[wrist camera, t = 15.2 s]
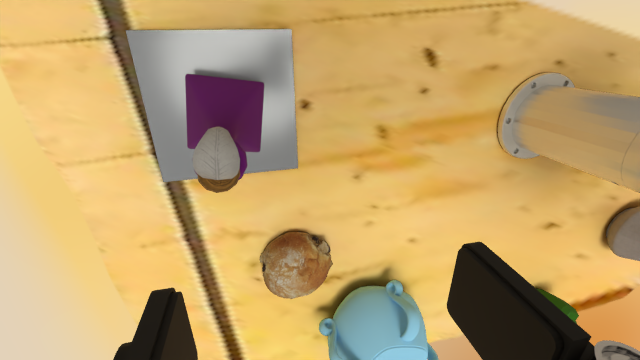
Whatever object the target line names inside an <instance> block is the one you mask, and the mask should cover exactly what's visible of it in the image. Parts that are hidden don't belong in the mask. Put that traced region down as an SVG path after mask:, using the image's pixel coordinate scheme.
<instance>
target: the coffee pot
mask: <svg viewBox="0 0 640 360" xmlns="http://www.w3.org/2000/svg"><path fill="white" fill-rule="evenodd" d="M606 237H607V239H608V245H609V247H610V249H611V250H612V251H613V253H614V254H616V255H617V256H619V257H623V258H628V259H632V260H637V261H640V206H639V207H635V208H629V209H626V210H624V211H622V212H621V213H619V214H618V215H617V216H616V217H615V218H614V219H613V220H612V221H611V223H610V224H609V226H608V228H607V231H606Z"/></svg>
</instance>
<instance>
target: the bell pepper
mask: <svg viewBox="0 0 640 360" xmlns="http://www.w3.org/2000/svg"><path fill="white" fill-rule="evenodd" d="M537 290H538V291H539V292H540V293H541V294H543V295H544V296H545V297H546V298H547V299H548V300H549V301H551V302H552V303H553V304H554V305H555V306H556V307H558V308H559V309H560V310H561V311H562V312H563V313H565V314H566V315H567V316H568V317H569V318H570V319H571V320H573V321H574V322H575V323H576V321H575V320H576V319H577V317H578V316H579V315H578V313H577V312H576V310H575V309H574V308H573V307H572V306H570V305H569V304H568V303H566V302H565V301H563V300H561V299H560V298H558V297H556V296H554V295H552V294H550V293H548V292H546V291H544V290H541V289H537ZM576 324H577V323H576Z"/></svg>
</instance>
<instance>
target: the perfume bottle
mask: <svg viewBox="0 0 640 360" xmlns="http://www.w3.org/2000/svg"><path fill="white" fill-rule="evenodd" d="M185 89H186V120H187V147H188V148H190V149H195V151H194V154H193V158H192V160H193V167H194V170H195V173H196V174H197V175H198V180H199V182H200V183H201V185H202V186H203V187H204V188H205V189H206V190H210V191H213V192H216V193H218V192H224V191H228V190H230V189H231V188H232V187H233V186H235V185H236V184H237V181H238V180H239V179H241V178H242V176H243V174H244V172H245V170H246V168H247V166H248V164H247V156H246V152H260V149H261V133H262V117H263V101H264V83H263V82H257V81H248V80H239V79H230V78H221V77H212V76H203V75H194V74H186V75H185Z"/></svg>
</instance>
